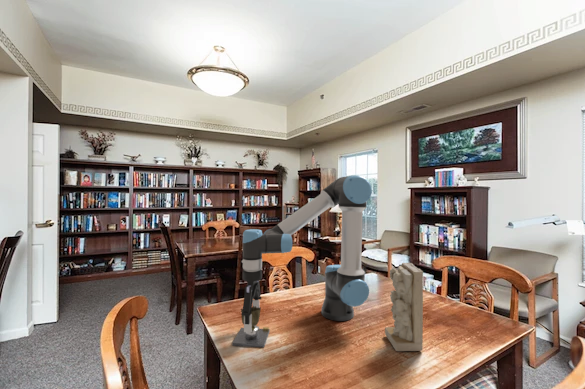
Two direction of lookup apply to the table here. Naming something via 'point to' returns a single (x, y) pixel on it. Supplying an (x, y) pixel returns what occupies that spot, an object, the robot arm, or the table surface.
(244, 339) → the grey plate with knob
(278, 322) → the table surface
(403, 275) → the sculpture
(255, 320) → the scalloped lamp shade
